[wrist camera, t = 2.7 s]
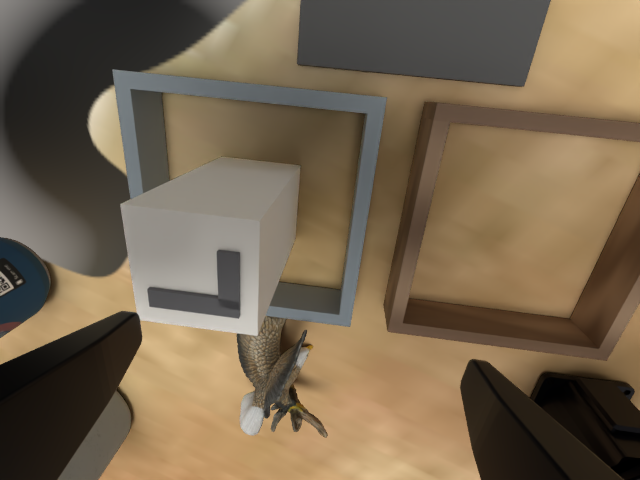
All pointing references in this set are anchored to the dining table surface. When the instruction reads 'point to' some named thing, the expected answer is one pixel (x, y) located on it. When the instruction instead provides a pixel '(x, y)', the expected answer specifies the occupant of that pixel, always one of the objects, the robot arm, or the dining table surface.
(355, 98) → the frame
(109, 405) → the water bottle
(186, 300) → the letter block
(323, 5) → the dark grey flat slab
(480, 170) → the dining table surface
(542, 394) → the robot arm
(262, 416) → the eagle figurine
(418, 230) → the frame
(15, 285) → the soda can
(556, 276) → the dining table surface
